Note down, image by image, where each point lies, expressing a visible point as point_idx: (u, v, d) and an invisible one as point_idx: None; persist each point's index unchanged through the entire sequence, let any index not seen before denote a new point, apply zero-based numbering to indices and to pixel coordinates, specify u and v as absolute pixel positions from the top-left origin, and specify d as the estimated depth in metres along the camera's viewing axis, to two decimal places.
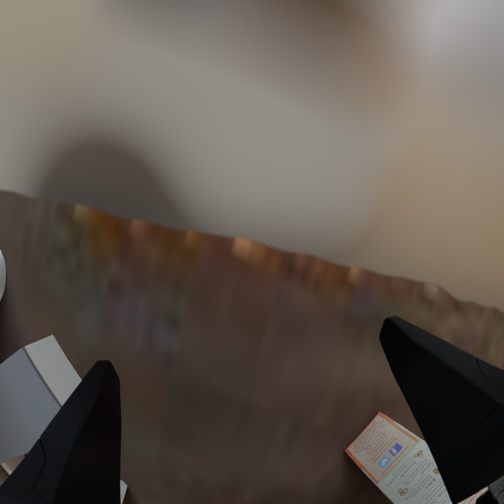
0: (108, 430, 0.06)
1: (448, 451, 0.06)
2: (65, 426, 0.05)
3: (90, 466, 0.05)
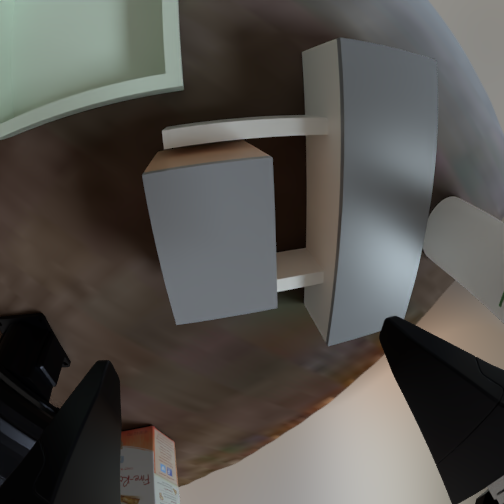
0: (108, 430, 0.06)
1: (448, 451, 0.06)
2: (65, 426, 0.05)
3: (90, 466, 0.05)
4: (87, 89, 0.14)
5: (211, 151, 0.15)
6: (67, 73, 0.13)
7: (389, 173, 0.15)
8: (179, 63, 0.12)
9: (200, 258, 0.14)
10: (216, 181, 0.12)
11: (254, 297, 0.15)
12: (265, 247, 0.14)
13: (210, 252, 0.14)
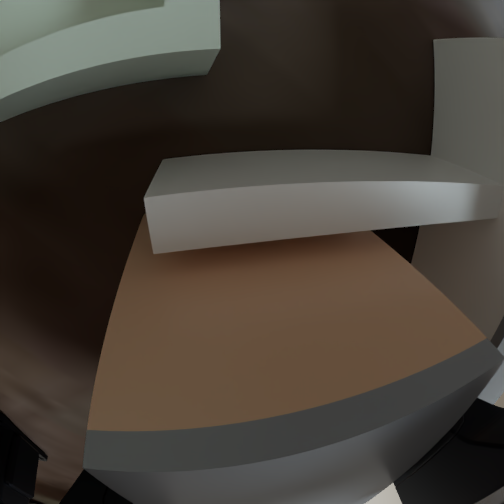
0: None
1: (405, 475, 0.05)
2: None
3: None
4: None
5: (292, 262, 0.05)
6: None
7: None
8: None
9: None
10: (358, 455, 0.03)
11: None
12: (391, 477, 0.05)
13: None
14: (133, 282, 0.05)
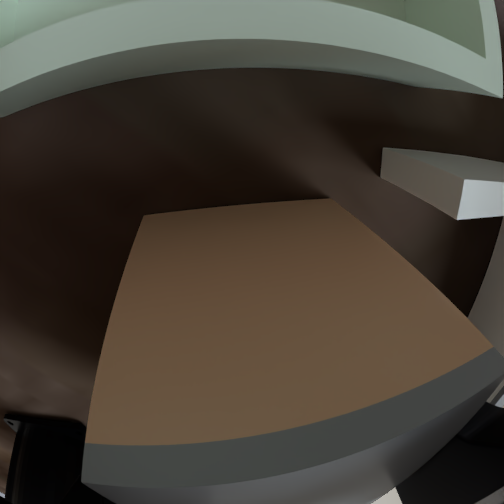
0: None
1: None
2: None
3: None
4: None
5: (295, 267, 0.05)
6: None
7: None
8: (499, 51, 0.04)
9: None
10: (362, 467, 0.03)
11: None
12: (393, 483, 0.05)
13: None
14: (132, 287, 0.05)
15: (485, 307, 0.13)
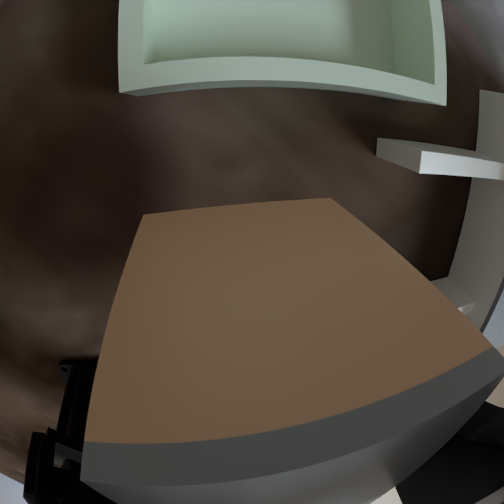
0: None
1: None
2: None
3: None
4: (296, 58, 0.10)
5: (294, 266, 0.05)
6: (265, 26, 0.10)
7: None
8: (445, 79, 0.09)
9: None
10: (361, 466, 0.03)
11: None
12: (393, 482, 0.05)
13: None
14: (131, 286, 0.05)
15: (462, 260, 0.18)
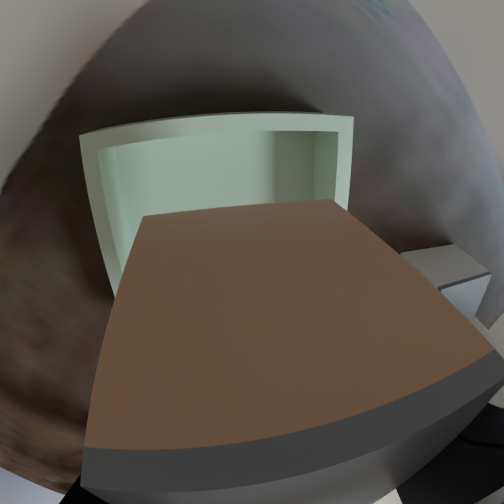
0: None
1: None
2: None
3: None
4: None
5: (296, 268, 0.05)
6: None
7: None
8: None
9: None
10: (362, 470, 0.03)
11: None
12: (393, 484, 0.05)
13: None
14: (131, 289, 0.05)
15: None
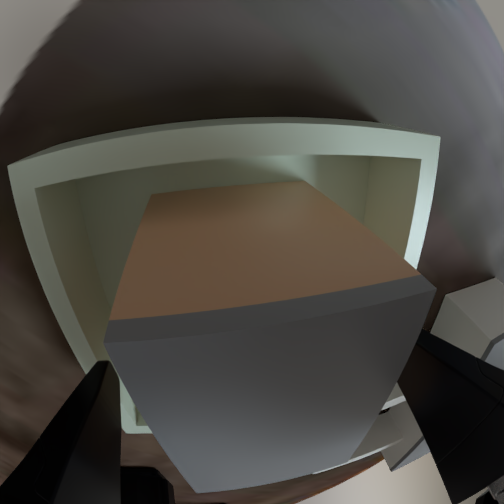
0: (108, 430, 0.06)
1: (448, 451, 0.06)
2: (65, 426, 0.05)
3: (90, 466, 0.05)
4: None
5: (266, 222, 0.07)
6: None
7: None
8: None
9: (246, 450, 0.06)
10: (309, 352, 0.04)
11: (321, 463, 0.08)
12: (362, 420, 0.06)
13: (267, 443, 0.06)
14: (145, 236, 0.07)
15: (399, 408, 0.22)
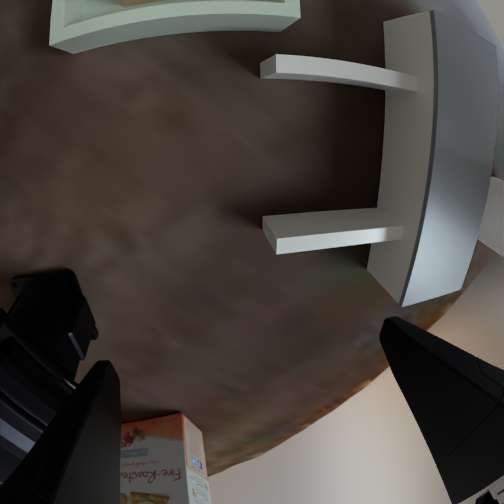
0: (108, 430, 0.06)
1: (448, 451, 0.06)
2: (65, 426, 0.05)
3: (90, 466, 0.05)
4: None
5: None
6: None
7: (467, 133, 0.14)
8: None
9: None
10: None
11: None
12: None
13: None
14: None
15: (386, 186, 0.19)
